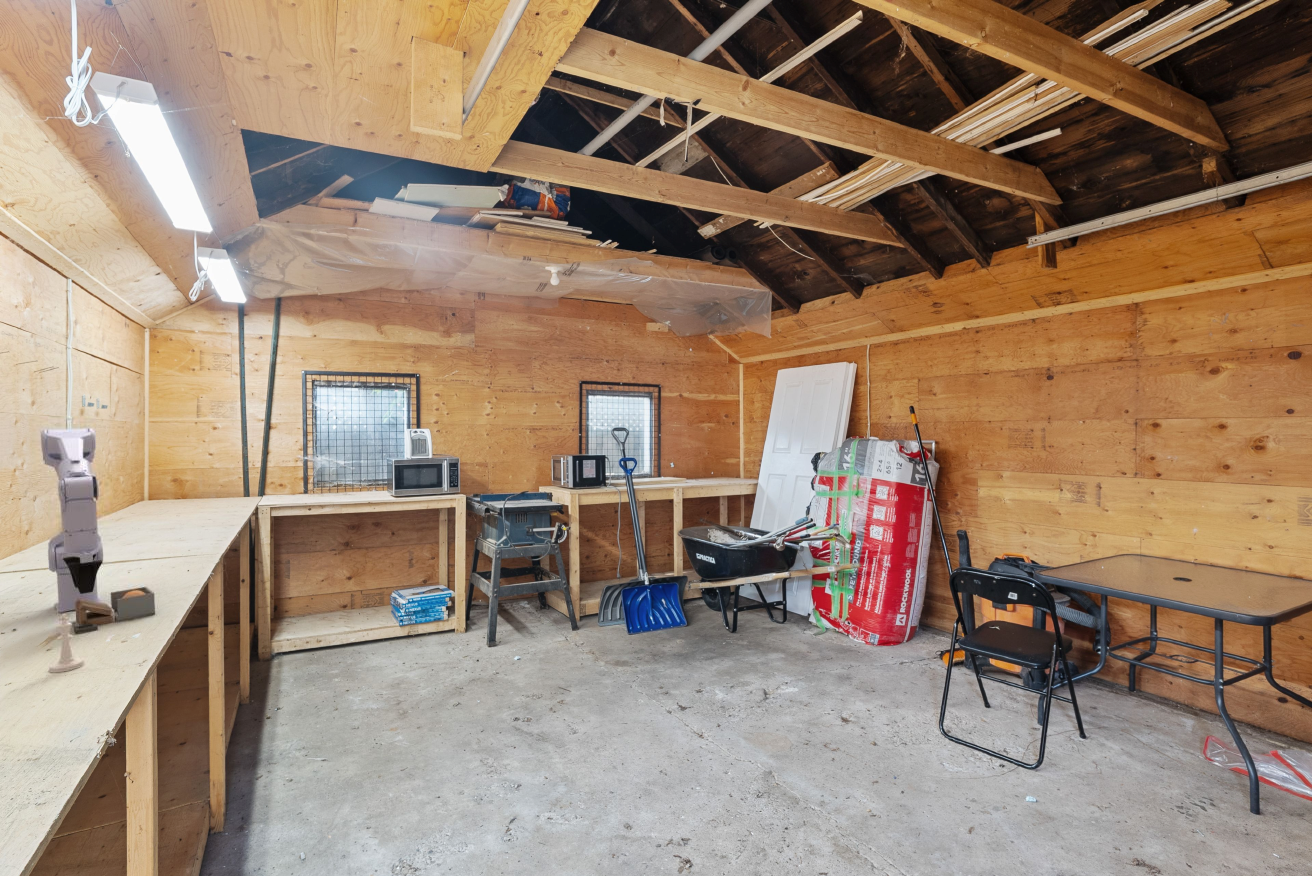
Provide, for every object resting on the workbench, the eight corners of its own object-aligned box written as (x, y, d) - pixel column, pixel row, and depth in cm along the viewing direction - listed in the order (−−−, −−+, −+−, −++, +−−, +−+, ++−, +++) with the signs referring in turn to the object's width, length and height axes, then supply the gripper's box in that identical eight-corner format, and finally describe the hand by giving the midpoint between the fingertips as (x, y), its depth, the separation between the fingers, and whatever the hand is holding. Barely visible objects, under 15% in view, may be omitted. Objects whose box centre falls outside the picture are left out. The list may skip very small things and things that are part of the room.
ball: (136, 584, 154) (114, 598, 151) (141, 587, 151) (117, 602, 148) (150, 599, 156) (128, 614, 153) (155, 603, 153) (132, 618, 150)
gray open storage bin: (109, 613, 152) (108, 592, 152) (147, 606, 157) (146, 586, 157) (116, 621, 146) (115, 599, 146) (155, 614, 152) (154, 593, 151)
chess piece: (62, 673, 117) (59, 619, 117) (41, 671, 118) (38, 617, 118) (91, 662, 122) (88, 610, 122) (70, 661, 123) (67, 609, 122)
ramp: (76, 620, 147) (74, 598, 147) (108, 614, 152) (107, 593, 152) (81, 628, 142) (79, 605, 142) (114, 621, 146) (113, 599, 146)
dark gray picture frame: (73, 630, 141) (73, 626, 141) (95, 626, 143) (95, 622, 143) (76, 634, 138) (75, 630, 138) (98, 629, 141) (97, 626, 141)
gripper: (52, 528, 147) (55, 587, 147) (60, 536, 137) (64, 599, 138) (93, 524, 152) (96, 581, 152) (103, 531, 142) (107, 592, 143)
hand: (83, 589), depth 145 cm, fingers open, 7 cm apart
